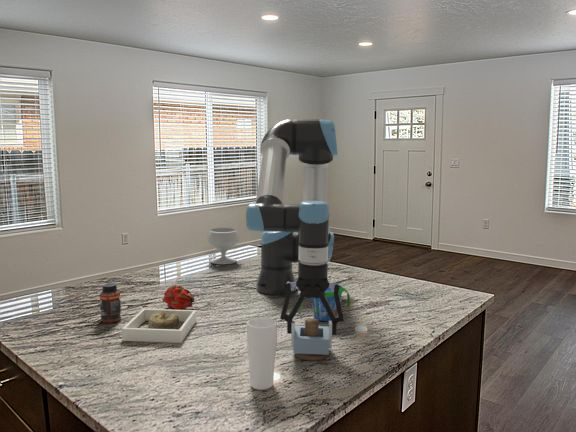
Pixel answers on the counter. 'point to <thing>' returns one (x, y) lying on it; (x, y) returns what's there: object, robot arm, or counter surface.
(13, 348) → the counter surface
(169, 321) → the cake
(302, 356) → the post
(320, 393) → the counter surface
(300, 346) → the collar
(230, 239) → the chalice
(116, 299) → the supplement bottle
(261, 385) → the drinking glass
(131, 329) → the cream rectangular open frame
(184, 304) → the dragon fruit
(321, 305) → the snack cup
